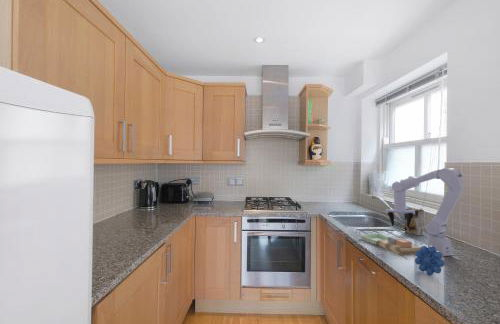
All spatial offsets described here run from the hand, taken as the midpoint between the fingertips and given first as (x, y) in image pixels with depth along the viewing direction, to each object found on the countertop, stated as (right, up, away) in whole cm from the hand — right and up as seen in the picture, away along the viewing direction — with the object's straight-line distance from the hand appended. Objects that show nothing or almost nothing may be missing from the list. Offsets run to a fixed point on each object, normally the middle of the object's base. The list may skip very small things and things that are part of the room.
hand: (400, 225), depth 144 cm
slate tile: (-8, -7, -8) cm, 13 cm away
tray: (-11, -10, +4) cm, 16 cm away
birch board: (-7, -10, -10) cm, 16 cm away
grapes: (-13, -9, -42) cm, 45 cm away
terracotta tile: (-7, -7, -14) cm, 17 cm away
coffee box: (+22, -11, +22) cm, 33 cm away
